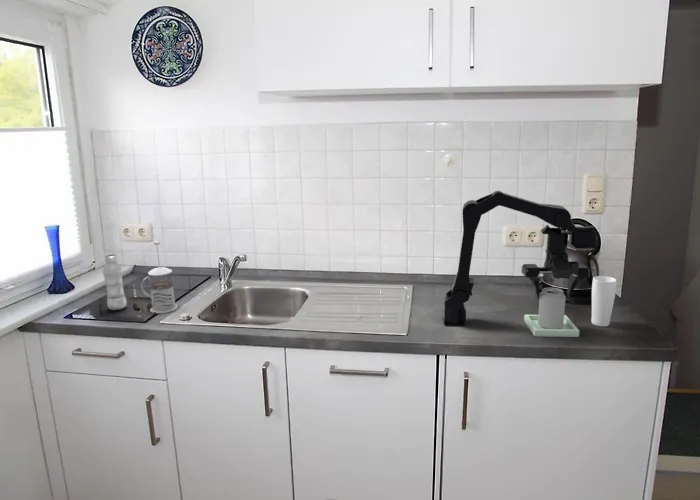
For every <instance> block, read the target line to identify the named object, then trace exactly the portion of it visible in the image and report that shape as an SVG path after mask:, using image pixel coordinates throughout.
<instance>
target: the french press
mask: <svg viewBox="0 0 700 500" xmlns="http://www.w3.org/2000/svg"><path fill="white" fill-rule="evenodd" d="M153 244H154V245H155V246H156V251H157V254H159V248H158V246H159V245H160V244H161V243H160V241H158V240H155V241H154V242H153ZM157 259H158V262H160V258H159V255H157ZM172 272H173V270H172V269H170V268H168V267H166V266H165V267H164V266H161V265H160V263H158V267H155V268H152V269H151V270H150V271H148V272H147V274H148V276H146V277H144V278H143V280H142V282H141V285H140V289H141V291H142V293H143V295H145V296H146V297H148V298H150V301H151V308H150V309H149V312H151V313H154V312H156V313H154V314H165V313H169V312H170V311H171V312H174V311H176V310H177V309H178V308H179V306H177V305H178V304H176V300H175V290H174V284H172V283H173V282H172V280H170V279H162V276H167V275H170V274H171V273H172ZM151 277H159V278H160V279H159V280H154V281H152V282H151V283H150V285H151V287H150V294H148V293H147V292H146V291H145V289H144V285H143V283H144V282H145V280H147V279H148V281H149V282H150V281H151ZM177 307H178V308H177ZM176 308H177V309H176ZM175 309H176V310H175ZM173 310H174V311H173Z"/></svg>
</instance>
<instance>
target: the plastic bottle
mask: <svg viewBox="0 0 700 500" xmlns="http://www.w3.org/2000/svg"><path fill="white" fill-rule="evenodd" d="M104 259H105V260H104V262H106V263H105V265H104V266H103V268H102V275H103V277H104V278H103V279H104V281H105V285H106V293H107V295H106V297H107V298H106V304H107V307H108V309H109V310H111V311H119V310H120V311H121V310H123V309H125V308H126V306H127V297H126V296H125V292H124V291H125V290H124V286H123V285H124V284H123V268H122V266H121V265H120V264H119V262H117V261H118V259H117V255H116V254H114V253H113V254H107V255H104Z"/></svg>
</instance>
